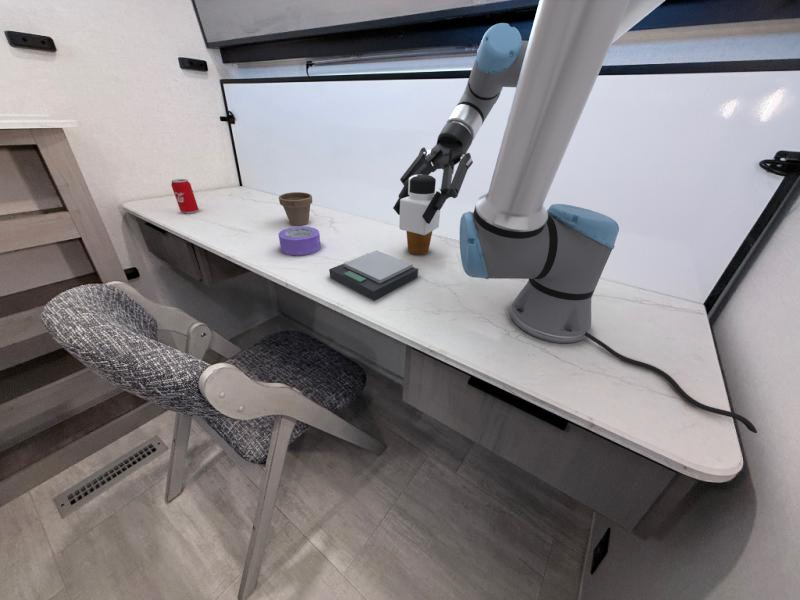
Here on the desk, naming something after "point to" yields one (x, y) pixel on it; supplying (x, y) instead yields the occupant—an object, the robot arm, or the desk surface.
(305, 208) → the flower pot
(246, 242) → the desk surface
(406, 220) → the medicine bottle
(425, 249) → the disposable coffee cup
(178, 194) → the beverage can
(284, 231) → the tape roll
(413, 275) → the scale
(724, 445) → the desk surface
